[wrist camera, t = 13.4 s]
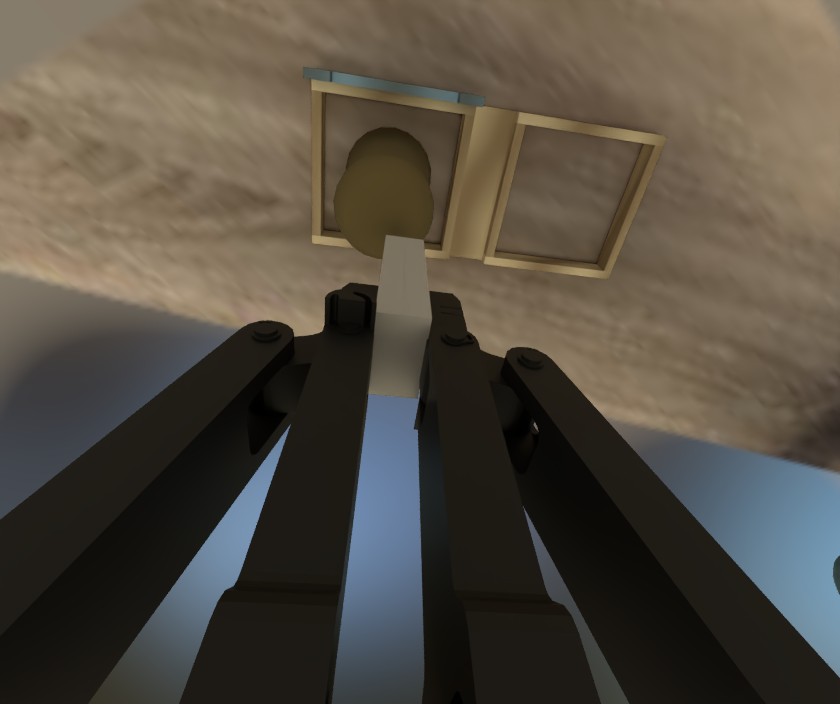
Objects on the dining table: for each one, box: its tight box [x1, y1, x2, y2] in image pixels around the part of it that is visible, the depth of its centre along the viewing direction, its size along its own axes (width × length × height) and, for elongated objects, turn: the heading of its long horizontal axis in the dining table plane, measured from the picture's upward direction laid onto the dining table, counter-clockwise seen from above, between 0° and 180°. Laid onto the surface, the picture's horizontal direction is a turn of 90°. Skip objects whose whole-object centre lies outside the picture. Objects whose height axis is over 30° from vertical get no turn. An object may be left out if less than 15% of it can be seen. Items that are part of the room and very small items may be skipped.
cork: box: [334, 127, 434, 259], centre depth 25 cm, size 6×6×11 cm
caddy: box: [303, 67, 667, 279], centre depth 28 cm, size 23×11×4 cm, turn 82°
